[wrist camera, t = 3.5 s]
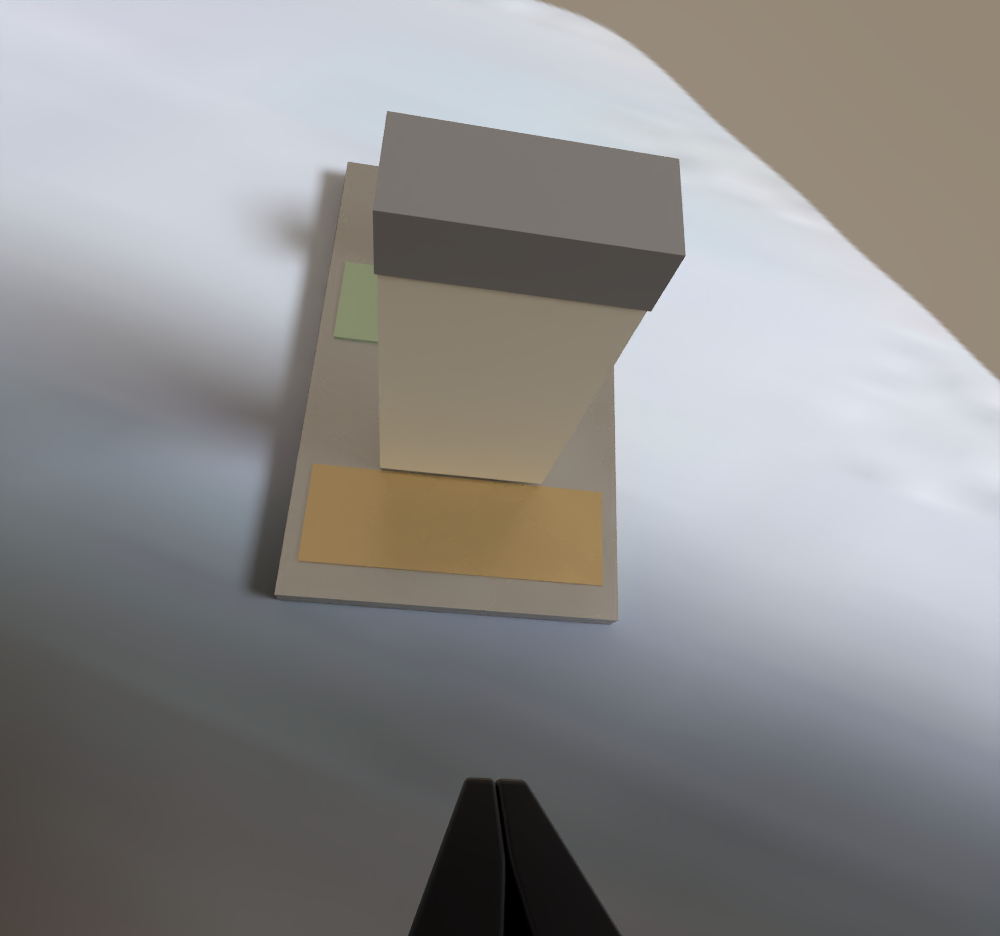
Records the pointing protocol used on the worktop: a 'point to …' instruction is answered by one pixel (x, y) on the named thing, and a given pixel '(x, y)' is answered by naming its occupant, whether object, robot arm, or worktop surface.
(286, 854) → the worktop surface
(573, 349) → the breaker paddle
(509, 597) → the base
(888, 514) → the worktop surface
